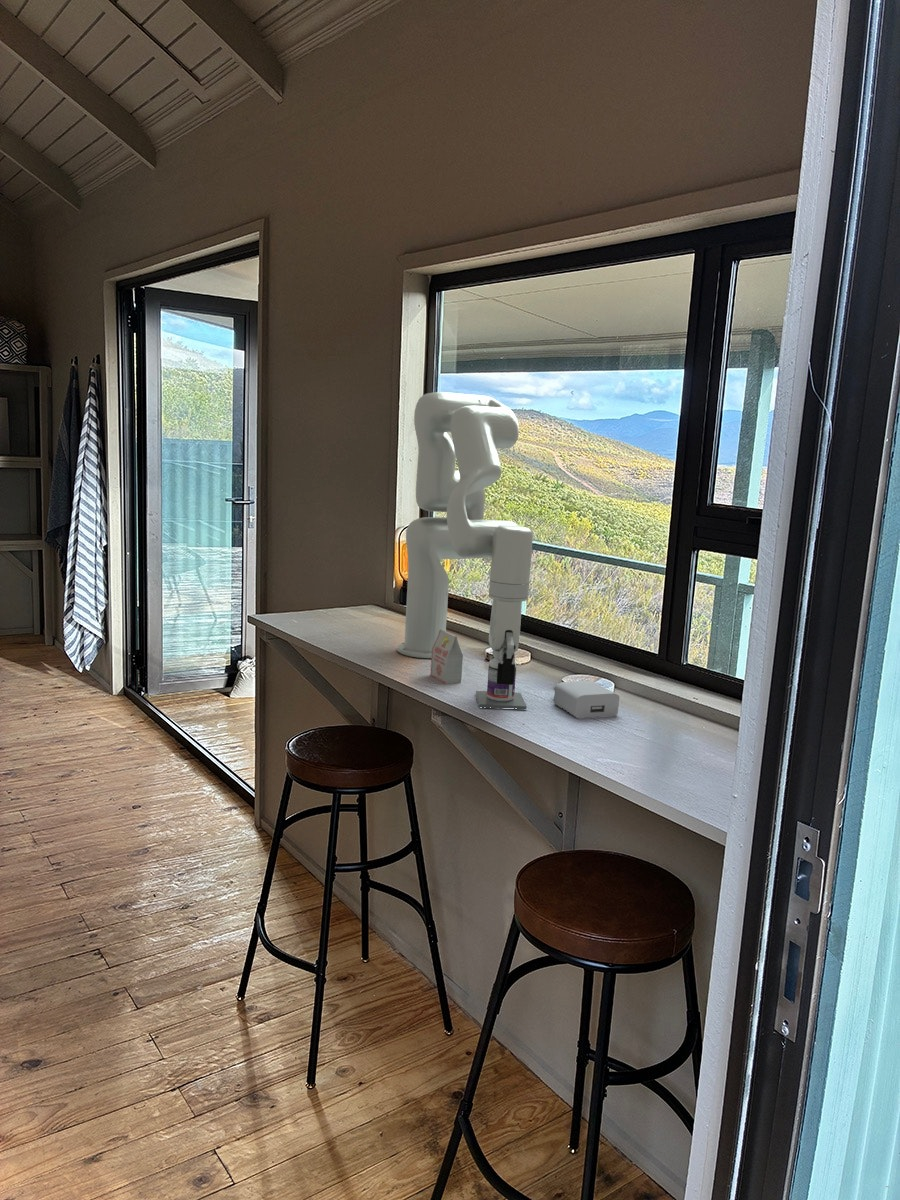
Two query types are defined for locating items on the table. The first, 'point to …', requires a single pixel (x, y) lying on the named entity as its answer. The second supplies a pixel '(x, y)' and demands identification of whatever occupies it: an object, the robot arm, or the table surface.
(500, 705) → the coaster
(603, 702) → the charger
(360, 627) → the table surface
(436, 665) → the milk carton
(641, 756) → the table surface
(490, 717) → the table surface
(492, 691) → the pill bottle
